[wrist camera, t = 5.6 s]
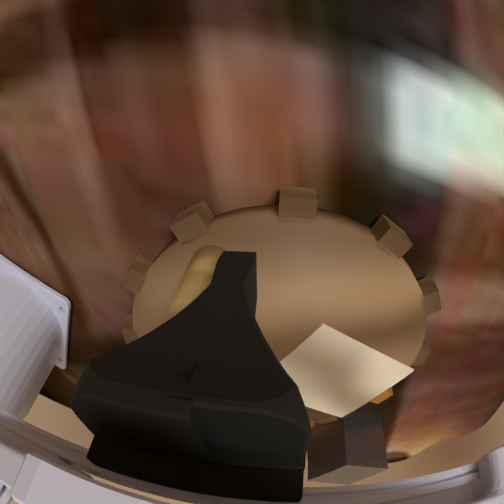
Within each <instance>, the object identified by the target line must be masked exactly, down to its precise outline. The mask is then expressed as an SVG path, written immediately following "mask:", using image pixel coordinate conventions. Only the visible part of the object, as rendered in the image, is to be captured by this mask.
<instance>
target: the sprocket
mask: <svg viewBox="0 0 504 504" xmlns="http://www.w3.org/2000/svg"><path fill="white" fill-rule="evenodd" d="M317 203H318V198H317V194H316V190H315V188H305V187H293V186H280V193H279V205H264V206H255V207H246V208H241V209H237V210H233V211H229V212H225V213H221V214H219V215H216V216H214V215H213V213H212V212H211V210H210V209H209V207H208V205H207V204H206V202H205V201H204V200H203V201H201V202H199V203H197V204H195V205H193V206H191V207H189V208H188V209H186V210H184V211H182V212H180V213H178V214H177V215H176V217H175V218H174V220H173V221H172V223H171V224H170V226H169V227H170V229H171V230H172V231H173V233H174V234H175V236H176V238H175V239H174V240H172V241H171V242H170V243H169V244H167V245H166V247H165V248H164V249H163V250H162V251H161V252H160V253H159V255H158V256H157V257H156V258H155V260H154V261H153V262H152V261H150V260H148V259H146V258H145V257H143V256H141V255H140V254H138V255H137V256H136V258H135V259H134V261H133V262H132V264H131V265H130V267H129V268H128V271H127V273H126V276H125V278H124V281H123V283H122V286H121V287H122V288H124V289H126V290H128V291H129V292H131V293H133V294H135V295H136V296H135V299H134V304H133V311H132V315H130V314H128V315H127V317H126V319H125V321H124V323H123V325H122V327H121V331H122V334H123V337H124V340H125V342H126V344H128V343H130V342H132V341H134V340H136V339H138V338H140V337H142V336H144V335H145V334H147V333H149V332H151V331H152V330H154V329H155V328H157V327H158V326H160V325H162V324H163V323H165V322H166V321H168V320H169V319H171V318H172V317H174V316H175V315H176V314H178V313H179V312H180V311H181V310H183V309H184V308H185V307H186V306H188V305H189V304H190V303H191V302H192V301H193V300H194V299H195V298H197V297H198V296H199V295H200V294H201V293H202V292H203V291H204V290H205V289H206V288H207V287H208V286H209V285H210V284H211V280H212V277H213V273H214V270H215V266H216V263H217V260H218V258H219V257H220V255H221V254H222V252H223V251H243V252H256V257H257V305H256V314H255V318H256V321H257V323H258V325H259V327H260V329H261V331H262V333H263V335H264V337H265V339H266V341H267V342H268V344H269V346H270V348H271V349H272V351H273V353H274V355H275V356H276V358H277V359H278V361H279V362H280V363H281V365H282V366H283V368H284V369H285V370H286V372H287V373H288V374H289V376H290V377H291V378H292V380H293V381H294V382H295V383H296V384H297V386H298V388H299V391H300V394H301V396H302V399H303V401H304V404H305V407H306V410H307V413H308V417H309V421H314V420H317V421H318V423H319V424H324V423H329V422H333V421H337V420H338V417H341V418H342V417H344V416H345V415H347V414H349V413H351V412H352V411H354V410H356V409H357V408H359V407H361V406H362V405H364V404H366V403H368V402H373V403H376V404H379V403H380V402H382V401H383V400H385V399H386V398H388V397H390V396H391V395H393V392H392V386H393V385H394V384H396V383H397V382H399V381H400V380H402V379H403V378H404V377H406V376H407V375H409V374H410V373H411V372H413V371H414V369H412V368H410V366H417V365H423V363H424V362H425V360H426V359H427V357H428V355H429V354H430V352H431V347H430V344H429V342H428V339H427V337H426V335H425V332H426V324H427V315H429V314H432V313H434V312H437V311H439V310H441V304H440V296H439V290H438V288H437V286H436V284H435V283H434V281H433V279H432V277H431V276H428V277H425V278H423V279H421V280H418V281H416V279H415V277H414V275H413V273H412V271H411V269H410V267H409V265H408V263H407V262H406V261H405V259H404V258H403V257H402V256H403V255H404V254H405V253H406V252H407V251H408V250H409V249H410V248H411V247H412V243H411V241H410V240H409V238H408V237H407V235H406V234H405V232H404V231H403V230H402V229H401V228H399V227H398V226H397V225H396V224H394V223H393V222H392V221H391V220H390V219H388V218H387V217H386V216H385V215H382V216H381V217H380V218H379V220H378V221H377V222H376V223H375V224H374V225H373V226H372V228H369V227H367V226H366V225H364V224H362V223H360V222H357V221H355V220H353V219H351V218H348V217H346V216H344V215H341V214H337V213H334V212H330V211H327V210H323V209H319V208H317Z"/></svg>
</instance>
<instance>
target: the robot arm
mask: <svg viewBox="0 0 504 504" xmlns="http://www.w3.org/2000/svg"><path fill="white" fill-rule="evenodd" d="M256 305H257V257H256V252H243V251H223V252H222V254H221V255H220V257H219V258H218V260H217V263H216V266H215V270H214V273H213V277H212V280H211V284H210V285H209V286H208V287H207V288H206V289H205V290H204V291H203V292H202V293H201V294H200V295H199V296H198V297H197V298H195V299H194V300H193V301H192V302H191V303H190V304H189V305H188V306H186V307H185V308H184V309H183V310H181V311H180V312H179V313H178V314H176V315H175V316H174V317H172V318H171V319H169V320H168V321H166V322H165V323H163V324H162V325H160V326H158V327H157V328H155V329H154V330H152V331H151V332H149V333H147V334H145V335H144V336H142V337H140V338H138V339H136V340H134V341H132V342H130V343H128V344H126V345H124V346H122V347H120V348H118V349H115V350H113V351H110V352H108V353H105V354H103V355H100V356H98V357H95V358H93V359H90V361H89V362H88V364H87V366H86V367H85V369H84V371H83V373H82V374H81V376H80V378H79V380H78V382H77V384H76V386H75V388H74V390H73V392H72V394H71V396H70V399H69V402H70V405H71V408H72V410H73V411H74V412H75V414H76V415H77V417H78V418H79V419H80V420H81V421H82V422H83V423H84V424H85V426H87V428H88V429H89V430H90V431H91V432H92V433H93V434H94V435H95V436H94V438H93V441H92V443H91V446H90V448H89V449H87V448H84V447H82V446H79V445H76V444H74V443H72V442H69V441H67V440H64V439H62V438H60V437H57V436H55V435H53V434H51V433H48V432H46V431H44V430H42V429H40V428H38V427H35V426H34V425H32V424H29V423H27V422H26V421H24V420H23V419H24V418H25V417H26V416H27V414H28V413H29V411H30V409H31V407H32V405H33V403H34V401H35V400H36V398H37V396H38V394H39V392H40V390H41V388H42V387H43V385H44V383H45V381H46V379H47V378H48V376H49V374H50V372H51V371H52V369H53V367H54V365H56V366H58V367H59V368H61V369H65V368H66V366H67V351H68V336H69V324H70V314H71V302H70V301H69V299H68V298H66V297H65V296H63V295H61V294H60V293H58V292H56V291H55V290H53V289H52V288H50V287H48V286H47V285H45V284H44V283H42V282H41V281H39V280H37V279H36V278H34V277H33V276H31V275H30V274H28V273H27V272H25V271H24V270H22V269H21V268H19V267H18V266H17V265H15V264H14V263H12V262H11V261H9V260H8V259H7V258H5V257H4V256H2V255H1V254H0V504H9V503H10V502H11V501H12V499H14V500H15V501H16V502H18V503H19V504H169V503H165V502H162V501H158V500H155V499H152V498H148V497H145V496H142V495H138V494H135V493H132V492H128V491H125V490H122V489H119V488H116V487H113V486H110V485H108V484H105V483H102V482H99V481H97V480H94V479H93V478H92V477H91V476H90V475H88V474H86V473H84V472H87V473H90V474H92V475H94V476H97V477H100V478H103V479H105V480H108V481H111V482H114V483H117V484H120V485H123V486H126V487H129V488H132V489H136V490H139V491H142V492H146V493H150V494H153V495H157V496H161V497H165V498H170V499H174V500H179V501H183V502H189V503H194V504H504V445H503V446H500V447H498V448H495V449H494V450H491V451H489V452H488V453H486V454H485V455H484V456H482V457H481V458H480V459H479V460H478V461H477V462H475V463H471V464H468V465H464V466H461V467H457V468H454V469H450V470H446V471H442V472H437V473H433V474H428V475H424V476H419V477H414V478H408V479H402V480H396V481H389V482H382V483H374V484H364V485H353V486H340V487H339V486H338V487H307V488H306V487H303V471H304V469H305V454H306V451H307V448H308V445H309V442H310V439H311V426H310V421H309V417H308V413H307V410H306V407H305V404H304V401H303V399H302V396H301V394H300V391H299V388H298V386H297V384H296V383H295V382H294V381H293V380H292V378H291V377H290V376H289V374H288V373H287V372H286V370H285V369H284V368H283V366H282V365H281V363H280V362H279V361H278V359H277V358H276V356H275V355H274V353H273V351H272V349H271V348H270V346H269V344H268V342H267V341H266V339H265V337H264V335H263V333H262V331H261V329H260V327H259V325H258V323H257V321H256V318H255V314H256ZM78 469H79V470H78ZM80 470H82V471H84V472H82V471H80Z"/></svg>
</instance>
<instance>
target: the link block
mask: <svg viewBox="0 0 504 504" xmlns="http://www.w3.org/2000/svg"><path fill="white" fill-rule="evenodd" d="M386 469H388V465H387V457H386V449H385V442H384V435H383V428H382V422H381V418H377V417H373V416H369V415H365V414H361V413H357V412H353V411H352V412H351V413H349V414H347V415H345V416H344V417H342V418H341V417H338V420H337V421H333V422H329V423H324V424H317V425H316V426H314V427H312V428H311V439H310V442H309V445H308V481H316V482H324V483H335V484H348V485H349V484H352V483H355V482H357V481H360V480H362V479H365V478H367V477H370V476H372V475H375V474H377V473H379V472H381V471H384V470H386Z"/></svg>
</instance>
